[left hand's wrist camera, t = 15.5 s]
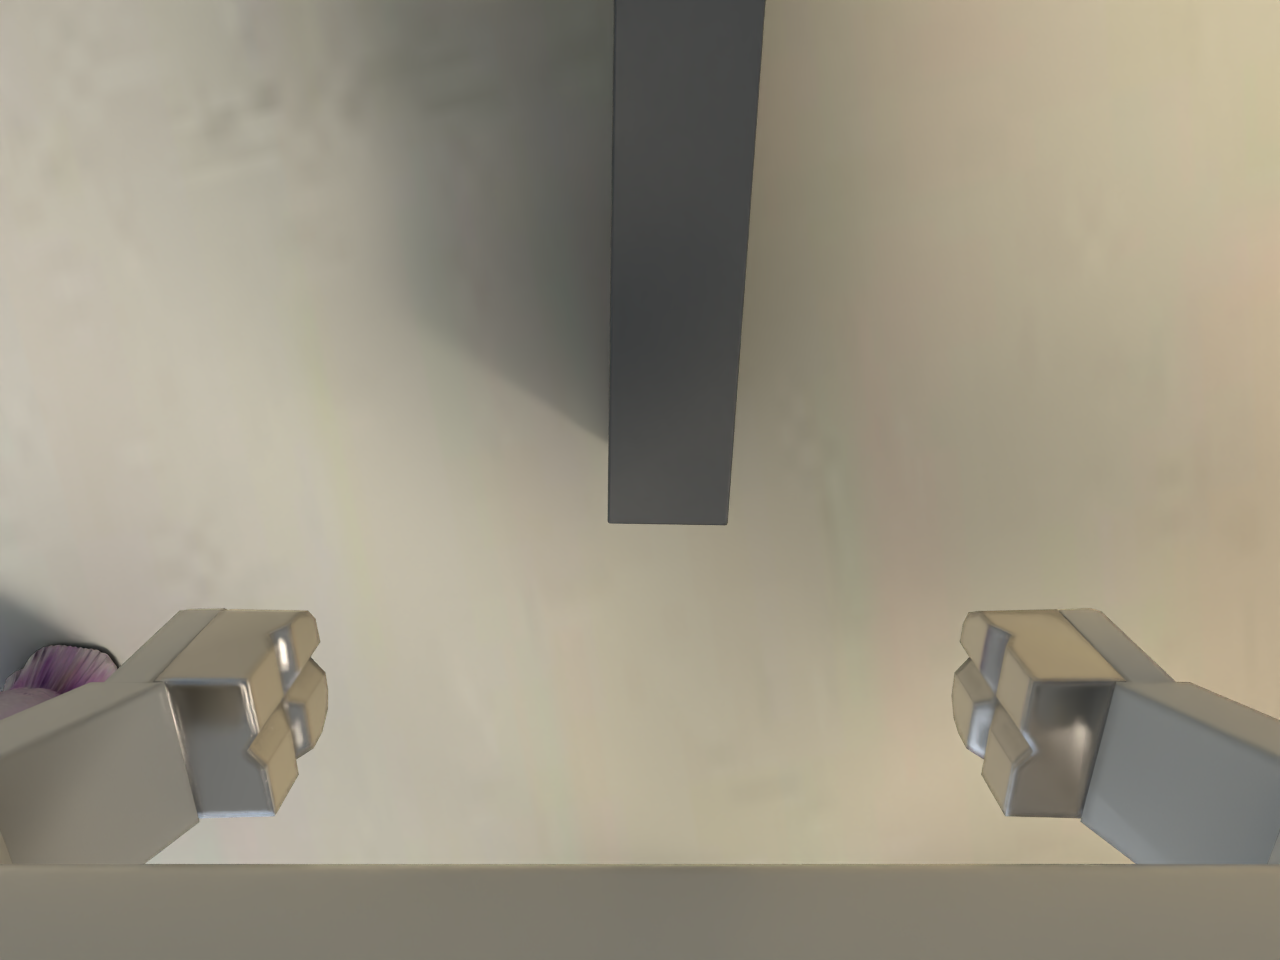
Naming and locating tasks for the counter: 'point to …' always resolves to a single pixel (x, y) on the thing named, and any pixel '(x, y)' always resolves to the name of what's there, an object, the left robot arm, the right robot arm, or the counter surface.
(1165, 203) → the counter surface
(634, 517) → the post
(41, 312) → the counter surface
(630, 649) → the counter surface
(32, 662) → the figurine
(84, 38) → the counter surface
